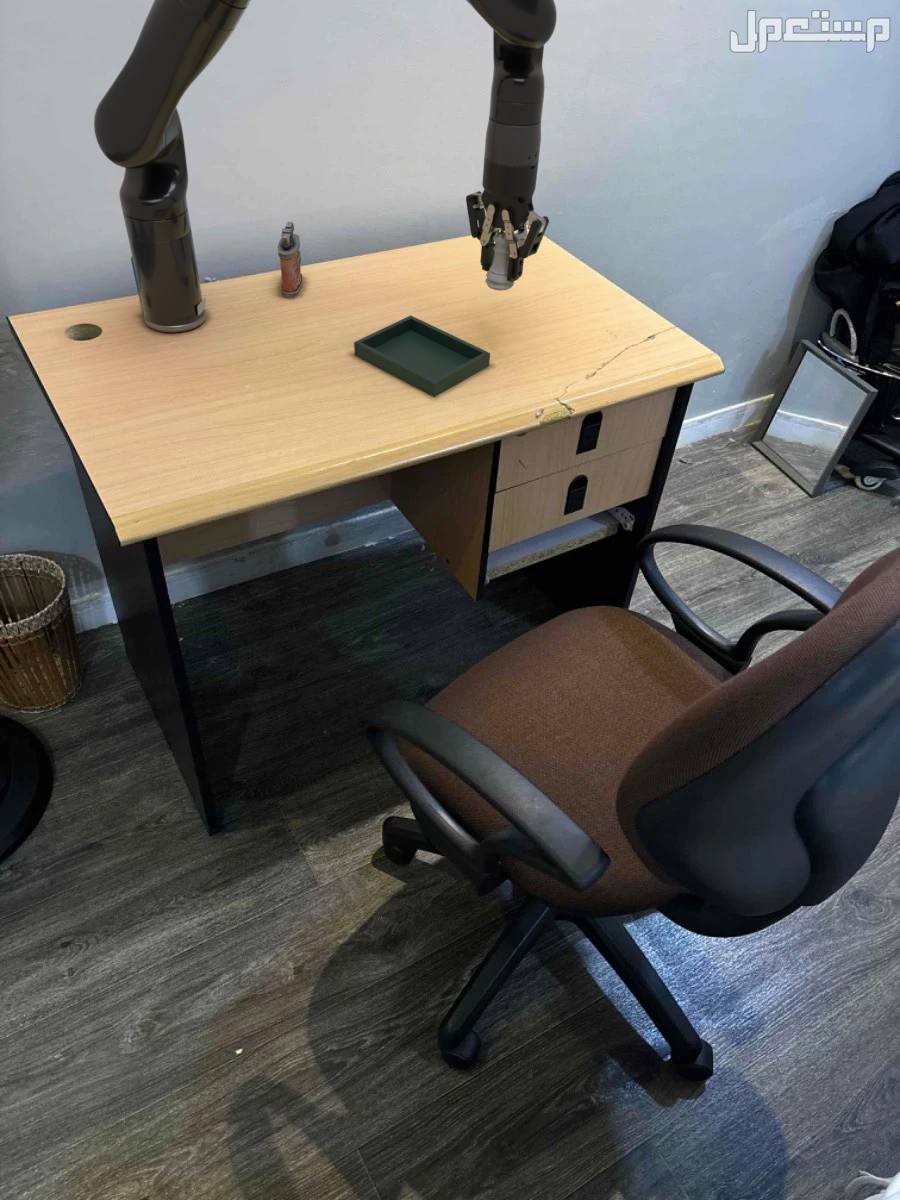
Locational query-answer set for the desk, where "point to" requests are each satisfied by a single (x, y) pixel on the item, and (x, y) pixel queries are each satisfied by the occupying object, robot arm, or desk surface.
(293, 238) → the lighter
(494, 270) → the rook chess piece
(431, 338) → the tray
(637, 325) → the desk surface
